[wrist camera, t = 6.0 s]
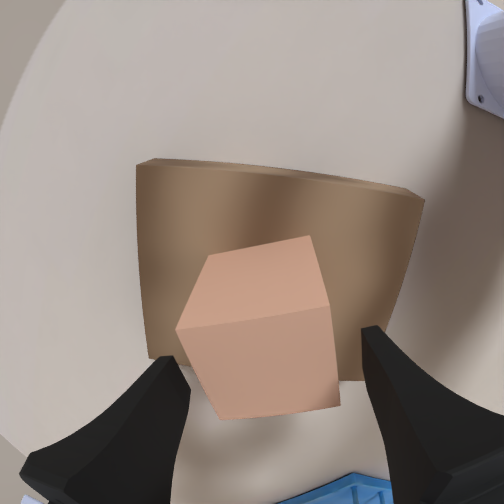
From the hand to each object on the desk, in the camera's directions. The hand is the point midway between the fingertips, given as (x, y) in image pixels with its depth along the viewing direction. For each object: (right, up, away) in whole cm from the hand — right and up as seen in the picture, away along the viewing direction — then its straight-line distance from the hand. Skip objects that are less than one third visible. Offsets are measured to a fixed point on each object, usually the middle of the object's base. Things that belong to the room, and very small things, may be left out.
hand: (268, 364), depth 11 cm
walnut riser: (0, +3, +7) cm, 8 cm away
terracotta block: (0, +2, +5) cm, 5 cm away
